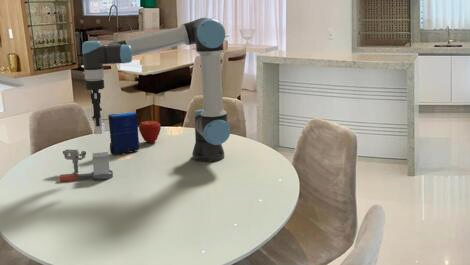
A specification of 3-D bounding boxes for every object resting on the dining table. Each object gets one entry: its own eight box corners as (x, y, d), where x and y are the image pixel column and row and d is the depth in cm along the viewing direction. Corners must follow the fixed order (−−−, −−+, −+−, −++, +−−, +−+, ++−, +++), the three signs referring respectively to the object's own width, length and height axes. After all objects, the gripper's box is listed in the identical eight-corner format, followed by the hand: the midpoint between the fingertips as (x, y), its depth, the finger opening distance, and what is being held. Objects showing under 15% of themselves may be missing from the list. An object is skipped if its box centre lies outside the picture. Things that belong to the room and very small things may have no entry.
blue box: (112, 156, 270) (109, 115, 265) (108, 154, 274) (105, 113, 269) (140, 151, 277) (138, 111, 272) (136, 149, 282) (133, 110, 277)
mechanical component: (85, 174, 244) (83, 151, 242) (63, 173, 246) (61, 151, 244) (88, 171, 247) (86, 150, 244) (67, 170, 249) (65, 149, 246)
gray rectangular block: (109, 169, 243) (108, 151, 241) (109, 174, 237) (108, 156, 235) (94, 171, 241) (92, 153, 239) (94, 175, 235) (92, 157, 233)
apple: (137, 144, 290) (135, 122, 287) (143, 139, 300) (142, 117, 297) (157, 145, 288) (156, 122, 285) (163, 140, 298) (162, 117, 295)
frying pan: (112, 173, 245) (111, 155, 243) (113, 179, 236) (111, 161, 234) (61, 177, 240) (59, 159, 238) (59, 184, 231) (57, 165, 229)
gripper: (85, 75, 240) (89, 124, 245) (84, 84, 217) (88, 137, 222) (103, 74, 242) (107, 122, 247) (104, 83, 218) (108, 136, 223)
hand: (98, 130), depth 234 cm, fingers open, 13 cm apart
